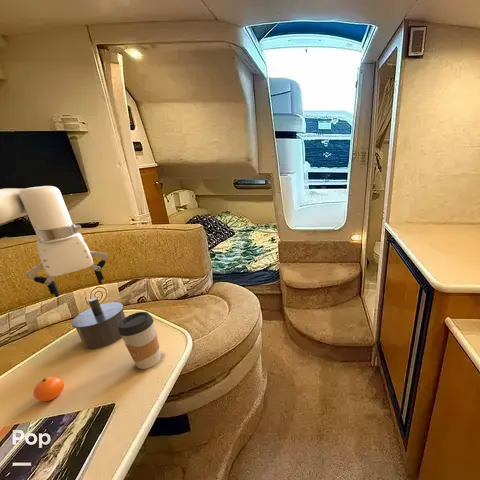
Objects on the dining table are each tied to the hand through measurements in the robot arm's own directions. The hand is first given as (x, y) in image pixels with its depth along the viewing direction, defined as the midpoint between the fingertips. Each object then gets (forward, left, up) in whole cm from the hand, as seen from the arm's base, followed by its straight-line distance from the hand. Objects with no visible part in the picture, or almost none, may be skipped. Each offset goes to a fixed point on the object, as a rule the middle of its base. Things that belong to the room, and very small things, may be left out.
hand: (79, 288), depth 78 cm
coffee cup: (+16, -10, -23) cm, 29 cm away
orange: (-5, -16, -23) cm, 28 cm away
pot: (-3, +8, -23) cm, 24 cm away
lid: (-3, +8, -14) cm, 17 cm away
